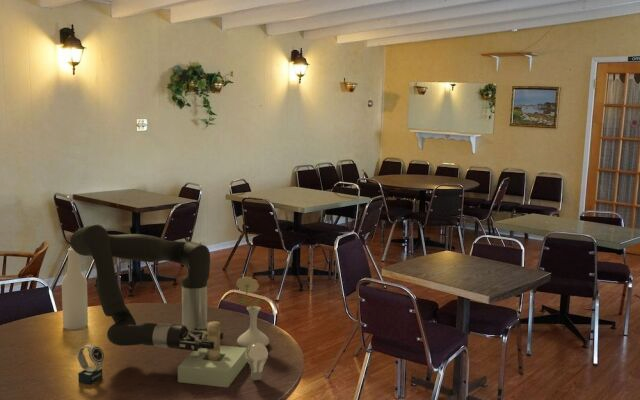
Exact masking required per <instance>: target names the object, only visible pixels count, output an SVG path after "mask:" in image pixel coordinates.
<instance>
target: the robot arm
mask: <svg viewBox="0 0 640 400" xmlns="http://www.w3.org/2000/svg"><path fill="white" fill-rule="evenodd" d="M69 243H70V248H72V249H73V250H74V251H75V252H76V253H78V254H79V256H80V255H81V256H87V257H90V256H91V257H92V259H93V260H94V264H95V268H96V292H97V296H98V300H99V303H100V305H101V309H102V311H103V314H104V315H105V317H111V318H112V320H113V322H114V323H113V324H112V325H110V326H109V328H108V330H107V333H106V336H107V337H106V338H107V339H108V341H109V342H110V343H112V344H113V345H115V346H119V347H121V346H123V347H124V346H125V347H126V346H128V347H129V346H139V345H144V346H154V347H159V348H166V349H173V350H174V349H175V350H185V351H191V352H193V351H198V349H202V348H205V349H213V348H214V342H212V341H207V323H208V281H209V279H210V272H211V271H210V269H211V266H210V265H211V253H210V249H209V248H208V246H206V245H204V244H202V243H197V242H194V241H174V240H173V241H172V240H167V239H164V238H162V237H158V236H154V235H147V234H141V233H140V234H139V233H128V234H127V233H125V234H123V233H122V234H108V231H107V229H105V228H104V227H103V225H100V224H96V223H92V224H89V225H87V226H84V227H81V228H79V229H77V230H75V231H74V232H73V233H72V234H71V236H70V240H69ZM113 257H114V258H119V259H124V260H130V261H131V260H132V261H135V262H142V263H143V262H144V263H157V262H162V261H163V262H165V261H167V262H172V263H175V264H176V263H177V264H180V265H183V266H185V267H188V273H187V275H185V276H183V277H182V279H181V324H173V323H154V322H153V323H152V322H145V323H140V324H137V323H136V320H135V318H134V316H133V315H132V313H131V312H130V310H129V309H128V307H127V306H126V303H125V300H124V298H123V294H122V291H121V289H120V284H119V282H118V278H117V275H116V270H115V269H116V268H115V264H114V258H113ZM221 340H224V332H223V331H222V332H221V331H220V341H221Z"/></svg>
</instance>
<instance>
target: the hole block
mask: <svg viewBox="0 0 640 400" xmlns="http://www.w3.org/2000/svg"><path fill="white" fill-rule="evenodd" d="M246 350H247V348H244V347H241V346H232V345H231V346H230V345H224V344H223V345H221V344H220V361H212V360H207V349H205V348H202V349H198V351H191V353H190V354H189V355H188V356H187V357H185V359H184V360H182V362H181V363H180V364H179V365H178V366H177V382H178V383H181V384H182V383H183V384H193V385H202V386H211V387H219V388H221V387H222V388H229V387H230V385H231V384H232V383H233V381H234V380H235V379H236V377H238V375H239V374H240V372H241V371H242V369H243V368H244V367H245V366H246V364H247V363H248V362H247V360H246Z"/></svg>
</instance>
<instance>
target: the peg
mask: <svg viewBox="0 0 640 400" xmlns="http://www.w3.org/2000/svg"><path fill="white" fill-rule="evenodd" d="M220 332H221V323H220V322H219V321H215V320H213V321H209V322H207V333H206V334H207V339H206V341H212V342H214V348H213V349H207V360H212V361H220V345H221V340H220Z"/></svg>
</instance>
